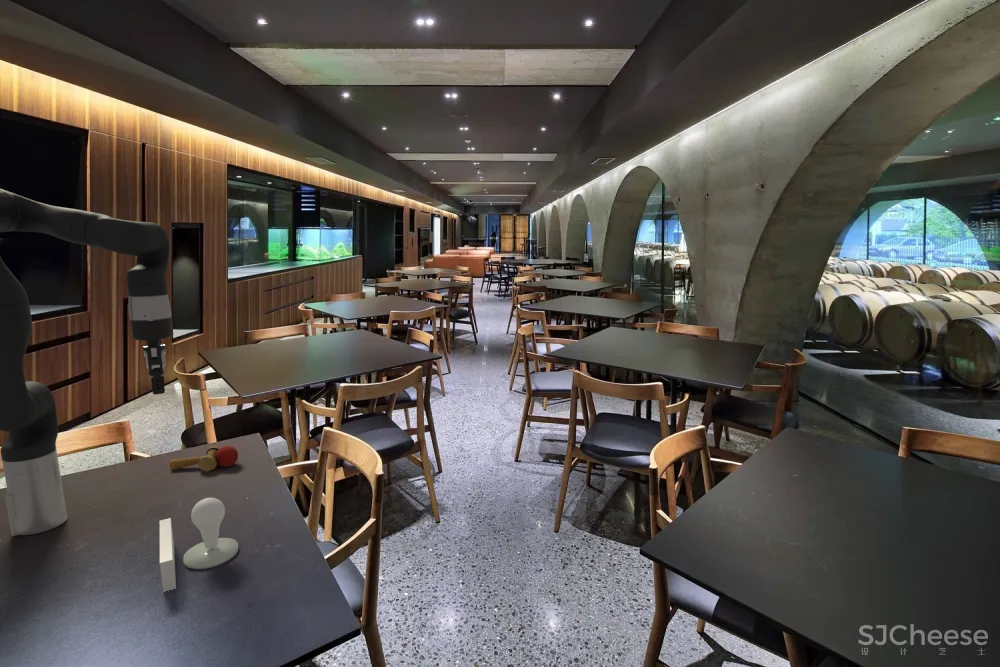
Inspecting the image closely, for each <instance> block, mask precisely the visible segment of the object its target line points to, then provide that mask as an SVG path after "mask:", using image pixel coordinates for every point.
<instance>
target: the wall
mask: <svg viewBox="0 0 1000 667" xmlns="http://www.w3.org/2000/svg"><path fill="white" fill-rule="evenodd" d="M175 556H176V555H175V542H174V534H173V526H172V518H171V517H169V518H166V519H162V520H159V568H160V569H159V570H160V575H161V576H160V577H161V583H162V584H161V585H162V590H163V592H165V593H167V592H166V591H168V592H170V591H169V590H171V591H174V590H173V589H175V590H177V581H176V576H177V575H176V562H175V561H176V558H175Z"/></svg>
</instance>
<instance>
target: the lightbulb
mask: <svg viewBox="0 0 1000 667" xmlns="http://www.w3.org/2000/svg"><path fill="white" fill-rule="evenodd" d="M193 506H194V507H193V508H192V510H191V513H190V514H191V515H190V517H191V518H190V519H191V521H192V523H193V525H194V526H195V527H196V528H197V529H198V530H199V532H200V534H201V539H202V540H203V542H204V545H205V548H207V549H214V548H215V547H216V546H217V545H218V538H219V535H220V527H221V524H222V521H223V520H224V517H225V515H226V507H225V505H224V503H223V502H222V501H221V500H220V499H218V498H216V497H206V498H203V499H201V500H199V501H198V502H196V504H195V505H193Z"/></svg>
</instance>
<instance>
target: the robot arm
mask: <svg viewBox="0 0 1000 667" xmlns="http://www.w3.org/2000/svg"><path fill="white" fill-rule="evenodd" d="M6 232H28V233H29V232H30V233H33V232H34V233H39V234H41V233H42V234H45V235H50V236H52V237H54V238H57V239H60V240H63V241H65V242H69V243H73V244H79V245H84V246H88V247H94V248H103V249H105V250H108V251H110V252H113V253H116V254H117V253H118V254H122V255H126V256H131V257H132V256H133V257H135V256H136V262H135V266H133V267H131V268H130V269H129V270H127V272H126V285H127V292H128V293H127V295H128V315H129V323H130V330H131V338H132V339H133V340H134V341H145V342H146V343H147V345H146V346H143V350H142V351H143V356H144V358H145V365H146V366H145V367H146V369H148V371H149V372H148V376H149V377H150V380H151V381H150V382H151V392H152V394H153V395H154V396H155V395H163V394H165V392H166V391H165V390H166V389H165V388H166V387H165V384H166V382H165V371H164V368H165V367H166V351H167V350H166V345H165V344H162V340H164V339H165V340H166V339H169V338H172V337H173V336H174V328H173V319H172V309H171V304H170V299H169V295H168V285H167V278H166V276H167V269H168V262H169V256H170V250H171V248H170V247H171V246H170V239H169V236H168V234H167V232H166V230H165V229H164V228H163V227H162V225H159V224H157V223H155V222H150V221H135V220H125V219H119V218H114V217H112V216H110V215H106V214H103V213H97V212H92V211H86V210H82V209H76V208H69V207H62V206H56V205H52V204H51V205H50V204H46V203H43V202H39V201H35V200H32V199H30V198H27V197H24V196H22V195H18V194H16V193H14V192H10V191H8V190H5V189H3V188H0V233H6ZM32 328H33V320H32V312H31V306H30V301H29V297H28V294H27V291H26V290H25V288H24V286H23V285H22V284H21V282H20V281H19V280H18V278H17V277H16V276H15V275H14V274H13V272H12V271H11V270H10V269H9V267H8V266H7V265H6V263H5V262H4V260H3V259H2V257H1V256H0V431H1V432H7V433H8V436H7V438H6V440H5V441H4V442H3V444H2V445H1V447H0V457H1V463H2V468H3V473H4V479H5V485H6V486H5V487H6V494H5V497H4V499H5V504H6V509H7V510H6V511H7V516H8V522H9V526H10V527H9V528H10V531H11V536H12V537H16V536H31V535H36V534H40V533H44V532H47V531H50V530H53V529H55V528H58V527H59V526H61V525H62V524H64V523H65V522H66V521H67V519H68V516H67V508H66V502H65V495H64V490H63V483H62V476H61V471H60V470H61V469H60V465H59V464H60V463H59V458H58V451H57V445H56V444H57V442H56V441H57V438H58V435H59V427H58V425H59V424H58V416H57V408H56V407H57V406H56V405H57V404H56V401H55V396H54V394H53V393H52V391H51V390H50V389H49V387H47V386H46V385H45V384H43V383H41V382H38V381H32V380H28V381H26V379H25V378H26V377H25V372H24V370H25V369H24V361H25V356H26V351H27V348H28V345H29V342H30V337H31V333H32Z"/></svg>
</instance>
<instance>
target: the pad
mask: <svg viewBox="0 0 1000 667" xmlns="http://www.w3.org/2000/svg"><path fill="white" fill-rule="evenodd" d="M238 551H239V543H238V541H237V540H236V539H234V538H230V537H218V545H217V546H216V547H215V548H214V549H207V548H205V545H204V541H202V542H199V543H197V544H195V545H194V546H191V547H190V548H189V549H188V550H187V551H186V552H185V553H184V555H183V565H184V567H186V568H188V569H191V570H205V569H209V568H214V567H217V566H220V565H222V564H224V563H226V562H228V561H230V560H231V559H233V558H234V557H235V556H236V555H237V553H238Z"/></svg>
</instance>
